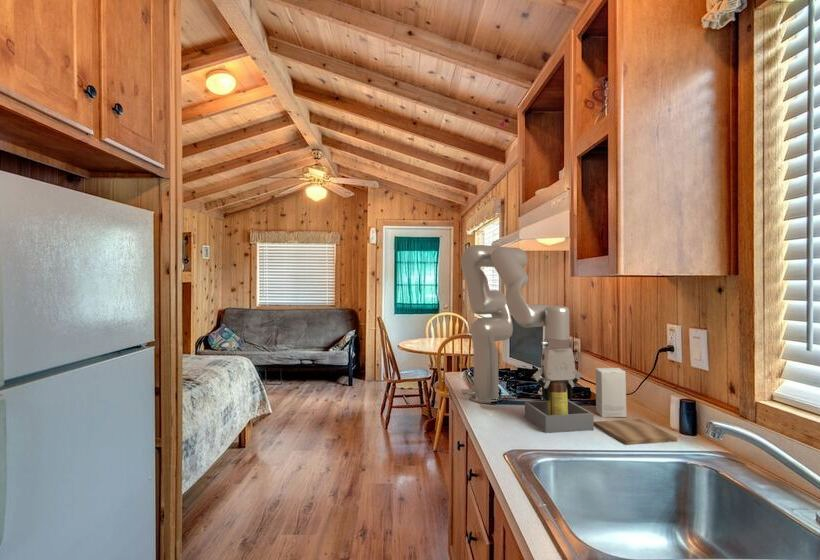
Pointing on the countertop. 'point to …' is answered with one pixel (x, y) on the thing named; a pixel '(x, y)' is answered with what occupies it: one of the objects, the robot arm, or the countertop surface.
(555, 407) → the sauce bottle
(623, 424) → the board
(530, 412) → the bin
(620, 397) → the skincare box
